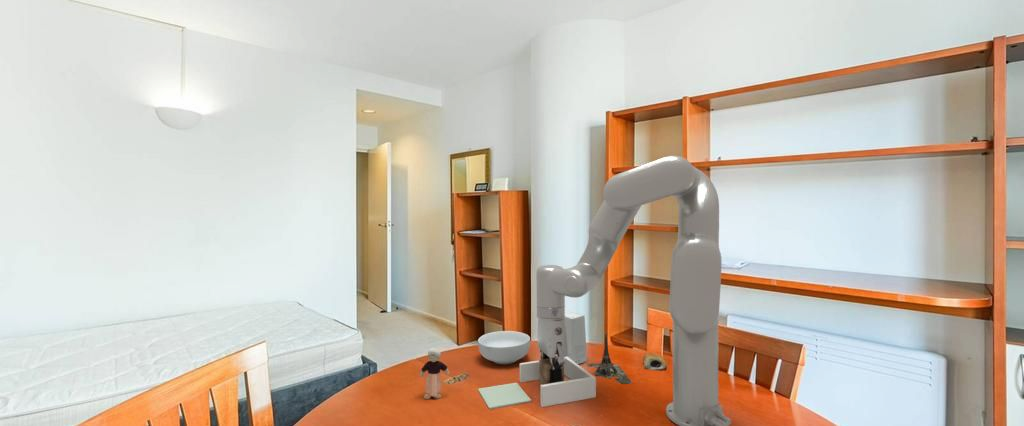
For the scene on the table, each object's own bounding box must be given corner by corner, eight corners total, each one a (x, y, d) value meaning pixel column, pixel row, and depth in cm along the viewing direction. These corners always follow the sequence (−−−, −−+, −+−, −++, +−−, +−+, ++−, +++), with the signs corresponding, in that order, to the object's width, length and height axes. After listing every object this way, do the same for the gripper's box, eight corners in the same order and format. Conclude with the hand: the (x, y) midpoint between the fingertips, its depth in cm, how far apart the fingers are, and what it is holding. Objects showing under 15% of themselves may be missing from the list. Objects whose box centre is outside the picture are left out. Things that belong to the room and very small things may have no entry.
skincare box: (587, 362, 127) (586, 315, 126) (573, 366, 123) (572, 318, 123) (569, 354, 134) (569, 309, 133) (555, 358, 130) (555, 312, 130)
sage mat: (531, 401, 101) (531, 400, 101) (489, 409, 97) (489, 407, 97) (516, 383, 111) (516, 382, 111) (478, 390, 108) (478, 388, 108)
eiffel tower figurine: (633, 385, 110) (633, 337, 110) (597, 386, 110) (596, 338, 110) (617, 364, 125) (617, 322, 125) (585, 365, 125) (585, 322, 125)
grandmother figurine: (420, 401, 101) (419, 351, 101) (419, 395, 105) (418, 346, 105) (450, 397, 103) (449, 348, 103) (448, 391, 107) (448, 344, 107)
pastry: (640, 358, 130) (640, 347, 130) (662, 360, 128) (662, 348, 128) (644, 370, 120) (644, 357, 120) (668, 372, 119) (668, 359, 119)
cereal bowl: (509, 347, 141) (509, 327, 141) (541, 361, 128) (540, 339, 128) (468, 358, 131) (468, 337, 131) (498, 374, 118) (497, 350, 118)
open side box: (595, 397, 103) (595, 377, 103) (542, 407, 98) (542, 386, 98) (567, 373, 118) (567, 356, 118) (519, 381, 113) (519, 363, 113)
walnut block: (563, 386, 106) (563, 363, 106) (546, 389, 104) (546, 366, 104) (555, 379, 111) (555, 357, 111) (539, 381, 109) (539, 359, 109)
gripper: (578, 318, 101) (578, 390, 101) (550, 303, 117) (550, 365, 117) (551, 321, 98) (551, 395, 98) (526, 305, 114) (526, 369, 114)
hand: (551, 378), depth 107 cm, fingers closed on walnut block, 5 cm apart
